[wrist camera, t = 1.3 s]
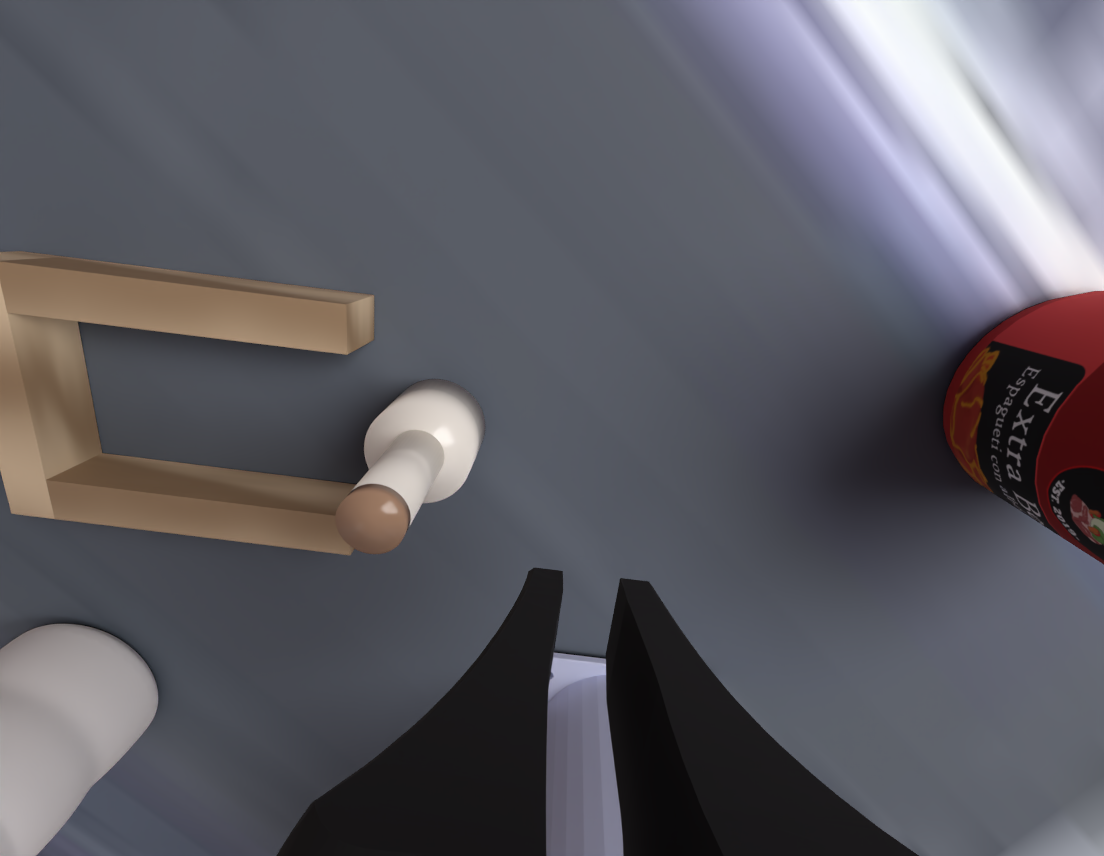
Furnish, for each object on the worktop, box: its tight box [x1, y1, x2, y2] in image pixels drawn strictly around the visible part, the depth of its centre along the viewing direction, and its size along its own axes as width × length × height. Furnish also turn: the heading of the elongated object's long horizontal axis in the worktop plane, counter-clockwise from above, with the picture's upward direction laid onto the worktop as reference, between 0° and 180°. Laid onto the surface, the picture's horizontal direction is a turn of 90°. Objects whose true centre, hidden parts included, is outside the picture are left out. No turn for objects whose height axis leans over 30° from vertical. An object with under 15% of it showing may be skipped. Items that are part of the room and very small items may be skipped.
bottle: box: [335, 379, 485, 554], centre depth 17 cm, size 4×4×8 cm
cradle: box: [0, 251, 374, 555], centre depth 20 cm, size 9×13×2 cm
